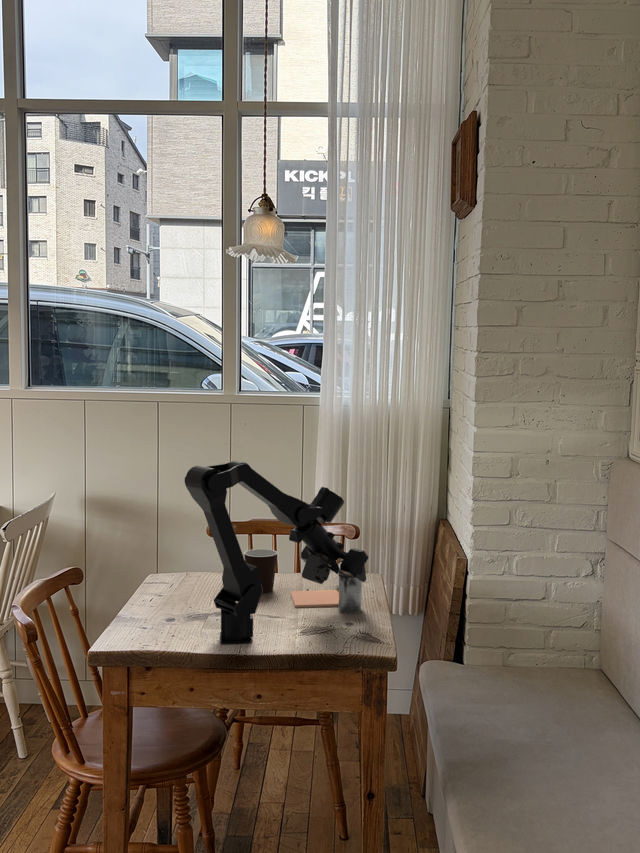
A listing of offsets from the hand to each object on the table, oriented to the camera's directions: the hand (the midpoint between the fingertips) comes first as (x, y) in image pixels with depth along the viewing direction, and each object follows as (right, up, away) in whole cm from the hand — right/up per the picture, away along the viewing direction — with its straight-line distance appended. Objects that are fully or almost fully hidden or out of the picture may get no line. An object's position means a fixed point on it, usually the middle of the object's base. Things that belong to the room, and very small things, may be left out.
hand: (351, 576), depth 200 cm
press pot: (0, -8, 0) cm, 8 cm away
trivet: (-9, -7, +8) cm, 14 cm away
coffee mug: (-23, -7, +18) cm, 30 cm away
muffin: (-1, -7, +20) cm, 21 cm away
